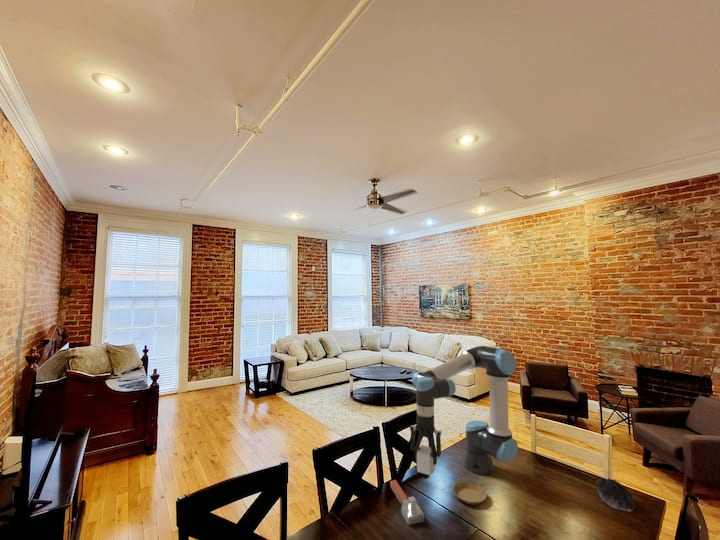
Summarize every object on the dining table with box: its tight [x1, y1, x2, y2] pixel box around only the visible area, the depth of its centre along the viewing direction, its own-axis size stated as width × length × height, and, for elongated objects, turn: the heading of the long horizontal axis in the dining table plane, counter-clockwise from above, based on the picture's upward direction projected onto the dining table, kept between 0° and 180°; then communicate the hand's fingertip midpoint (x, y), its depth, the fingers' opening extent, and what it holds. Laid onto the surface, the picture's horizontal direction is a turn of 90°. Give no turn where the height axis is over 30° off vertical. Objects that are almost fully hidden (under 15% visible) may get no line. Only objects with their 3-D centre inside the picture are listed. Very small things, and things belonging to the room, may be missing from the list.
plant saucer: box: [452, 481, 488, 506], centre depth 145 cm, size 15×15×3 cm
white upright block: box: [416, 444, 432, 476], centre depth 136 cm, size 6×6×9 cm
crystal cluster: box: [595, 478, 636, 513], centre depth 141 cm, size 13×14×10 cm
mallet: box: [389, 479, 425, 526], centre depth 142 cm, size 26×7×8 cm, turn 15°
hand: (425, 469), depth 136 cm, fingers closed on white upright block, 6 cm apart
